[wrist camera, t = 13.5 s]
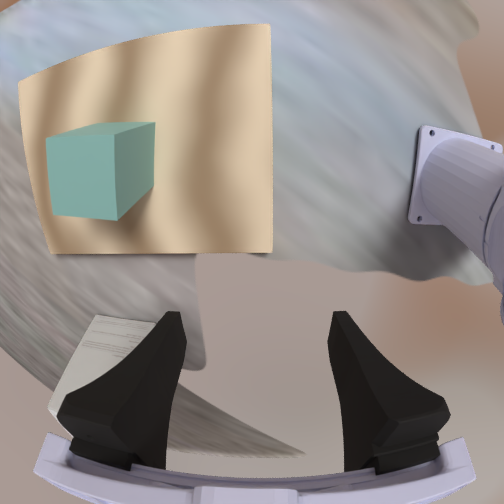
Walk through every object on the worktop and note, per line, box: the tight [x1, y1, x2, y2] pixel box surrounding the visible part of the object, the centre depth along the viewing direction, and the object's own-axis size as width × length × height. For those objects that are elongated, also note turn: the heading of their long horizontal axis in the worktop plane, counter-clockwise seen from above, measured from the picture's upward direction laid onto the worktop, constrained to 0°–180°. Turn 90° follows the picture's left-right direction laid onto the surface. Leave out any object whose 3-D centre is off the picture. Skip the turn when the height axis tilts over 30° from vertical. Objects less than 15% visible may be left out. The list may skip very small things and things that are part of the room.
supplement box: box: [47, 315, 156, 437], centre depth 24 cm, size 7×7×13 cm
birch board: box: [18, 24, 273, 254], centre depth 19 cm, size 20×16×2 cm
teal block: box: [46, 122, 156, 221], centre depth 16 cm, size 4×4×6 cm
